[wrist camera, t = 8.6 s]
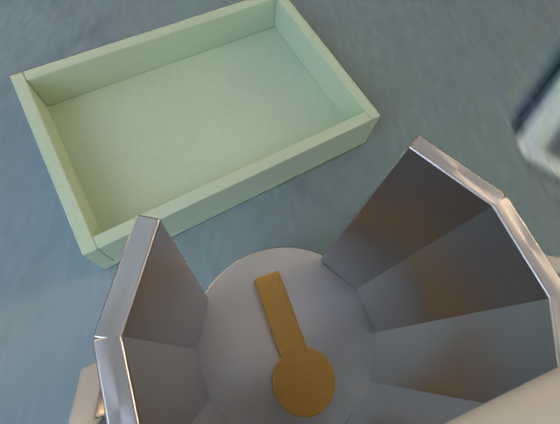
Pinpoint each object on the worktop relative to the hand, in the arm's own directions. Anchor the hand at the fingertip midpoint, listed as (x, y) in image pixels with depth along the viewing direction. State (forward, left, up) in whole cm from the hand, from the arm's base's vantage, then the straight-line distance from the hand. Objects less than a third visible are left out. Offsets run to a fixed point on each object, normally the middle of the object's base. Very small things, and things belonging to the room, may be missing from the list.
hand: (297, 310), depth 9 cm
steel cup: (0, -1, -5) cm, 5 cm away
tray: (+2, +11, -7) cm, 14 cm away
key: (0, -1, -4) cm, 4 cm away
